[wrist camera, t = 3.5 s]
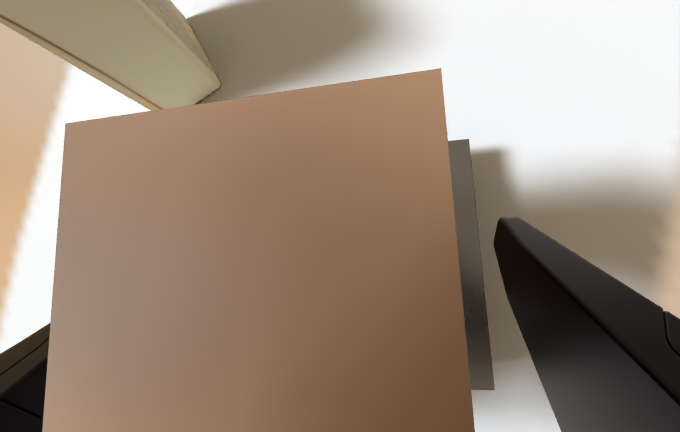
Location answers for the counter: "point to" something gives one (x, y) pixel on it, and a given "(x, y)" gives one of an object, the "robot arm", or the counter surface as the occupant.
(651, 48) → the counter surface
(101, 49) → the skincare box
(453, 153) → the collar
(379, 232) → the walnut peg
